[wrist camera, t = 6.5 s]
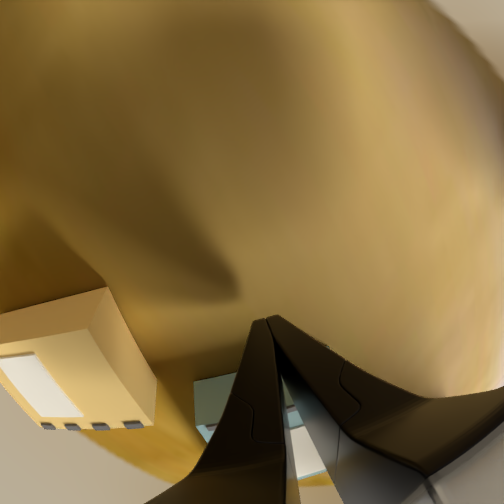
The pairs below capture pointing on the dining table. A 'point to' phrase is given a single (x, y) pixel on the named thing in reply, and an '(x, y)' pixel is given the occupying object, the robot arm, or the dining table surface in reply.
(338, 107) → the dining table surface
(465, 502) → the robot arm
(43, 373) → the stub
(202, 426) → the pale blue pin-sided card
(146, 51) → the dining table surface
